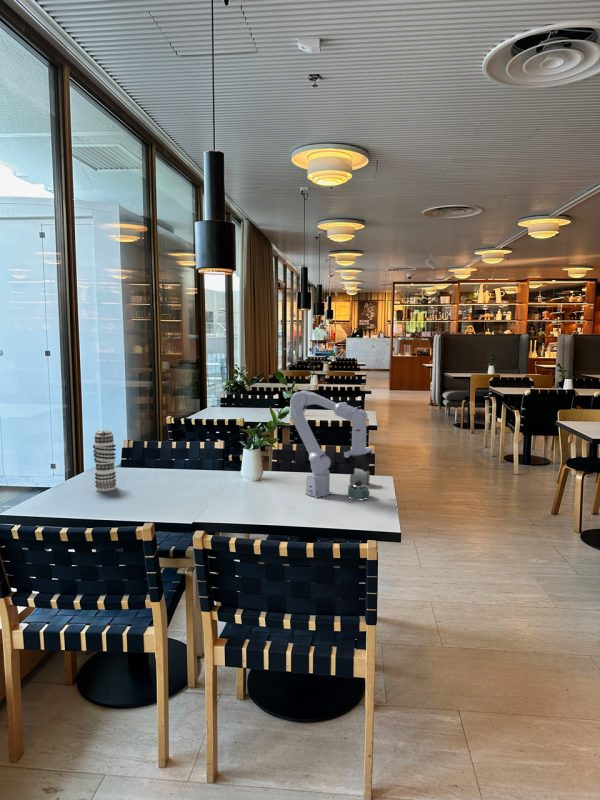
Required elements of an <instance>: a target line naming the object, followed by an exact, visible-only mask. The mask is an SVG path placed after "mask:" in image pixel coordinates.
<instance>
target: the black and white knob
mask: <svg viewBox="0 0 600 800" xmlns="http://www.w3.org/2000/svg"><path fill="white" fill-rule="evenodd" d="M353 487H356V488H357V489H359V488H361V487H364V485H363V484H362V480H359V479H357V480H355V484H353Z"/></svg>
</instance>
